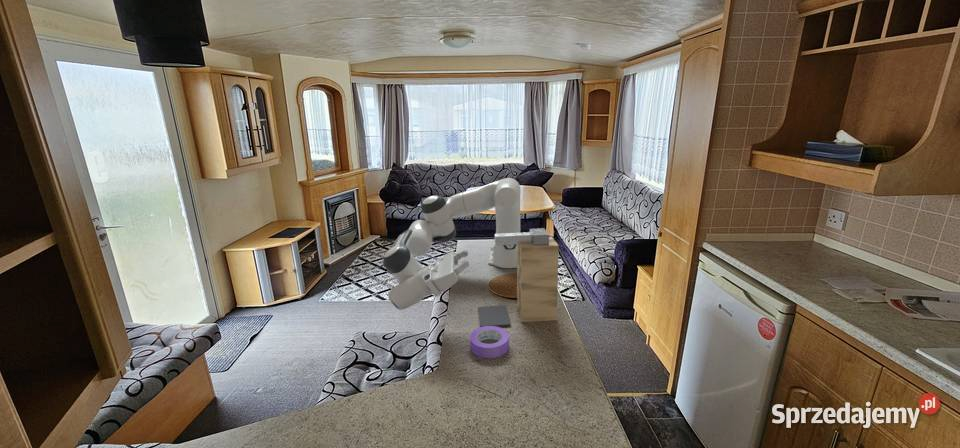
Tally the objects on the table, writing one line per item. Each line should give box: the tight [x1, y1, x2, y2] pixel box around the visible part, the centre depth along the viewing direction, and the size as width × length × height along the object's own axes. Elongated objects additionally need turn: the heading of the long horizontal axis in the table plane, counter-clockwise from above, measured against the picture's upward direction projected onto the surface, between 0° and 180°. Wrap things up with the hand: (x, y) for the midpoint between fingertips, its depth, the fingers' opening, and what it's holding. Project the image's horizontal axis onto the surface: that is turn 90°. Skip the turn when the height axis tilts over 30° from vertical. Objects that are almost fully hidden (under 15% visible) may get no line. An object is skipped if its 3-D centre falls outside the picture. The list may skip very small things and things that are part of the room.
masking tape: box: [469, 326, 510, 359], centre depth 119 cm, size 12×12×4 cm
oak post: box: [516, 236, 560, 323], centre depth 133 cm, size 9×12×27 cm
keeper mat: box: [477, 304, 511, 328], centre depth 136 cm, size 13×10×1 cm
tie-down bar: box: [494, 227, 550, 246], centre depth 128 cm, size 7×17×4 cm, turn 94°
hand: (467, 257), depth 129 cm, fingers open, 8 cm apart
